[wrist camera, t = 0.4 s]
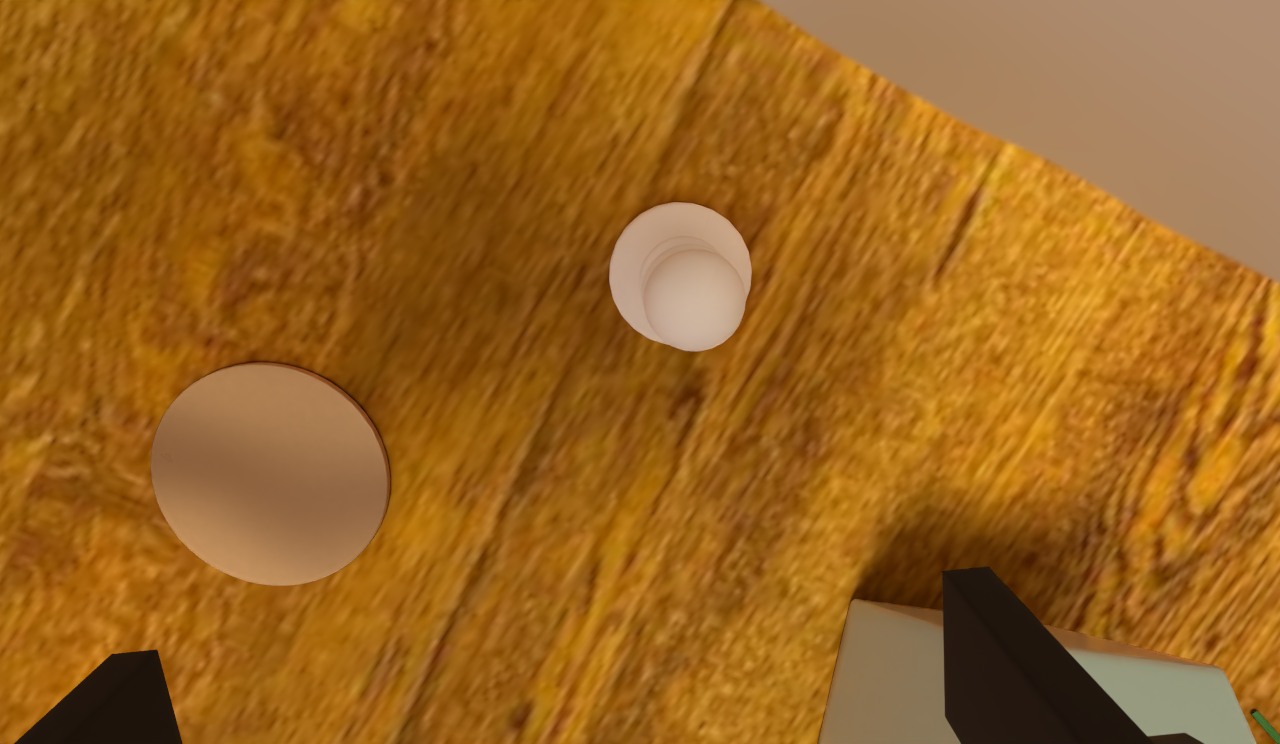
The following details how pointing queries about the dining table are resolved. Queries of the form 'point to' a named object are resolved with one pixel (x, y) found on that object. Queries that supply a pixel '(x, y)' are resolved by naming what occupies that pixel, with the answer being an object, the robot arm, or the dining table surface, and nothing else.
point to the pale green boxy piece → (914, 683)
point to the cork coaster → (270, 473)
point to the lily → (1267, 726)
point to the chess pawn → (681, 276)
